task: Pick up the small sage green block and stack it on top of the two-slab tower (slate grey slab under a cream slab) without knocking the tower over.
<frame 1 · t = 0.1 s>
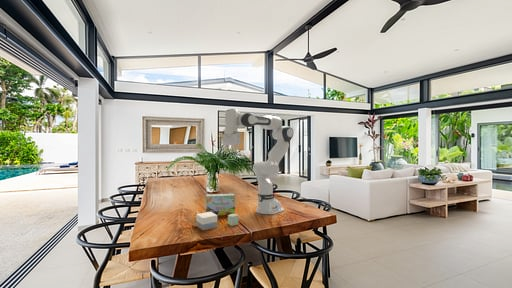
hand: (231, 151, 168), 48 cm above the table, tool pointing down, fingers open, 8 cm apart
snack box: (220, 214, 179), on the table
sage block: (233, 224, 158), on the table
cream slab: (206, 220, 153), point 4 cm above the table, touching grey slab
grey slab: (206, 227, 153), on the table, touching cream slab
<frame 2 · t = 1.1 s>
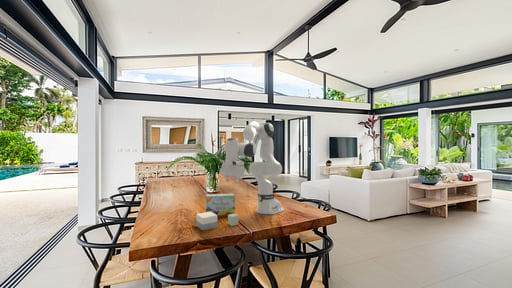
hand: (232, 182, 159), 27 cm above the table, tool pointing down, fingers open, 8 cm apart
nothing on the table moved.
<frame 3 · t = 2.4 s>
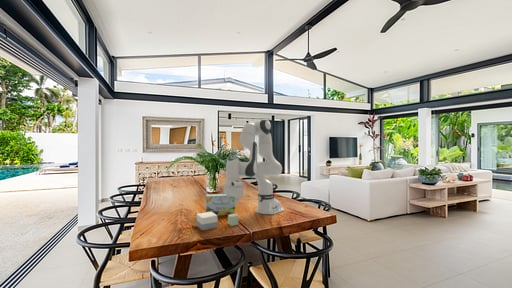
hand: (232, 202, 157), 14 cm above the table, tool pointing down, fingers open, 8 cm apart
cream slab: (207, 220, 153), point 4 cm above the table
grey slab: (206, 227, 153), on the table
everything else where it was.
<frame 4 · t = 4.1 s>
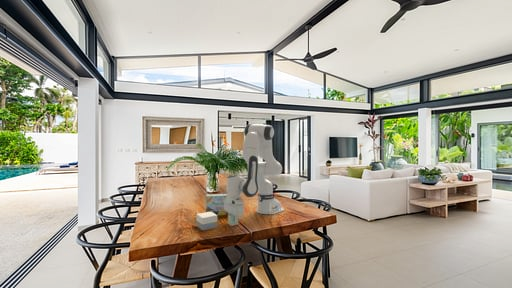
hand: (233, 220, 158), 3 cm above the table, tool pointing down, fingers closed on sage block, 5 cm apart
sage block: (233, 224, 158), on the table, touching gripper
cream slab: (206, 220, 153), point 4 cm above the table, touching grey slab
grey slab: (206, 227, 153), on the table, touching cream slab
everything else where it was.
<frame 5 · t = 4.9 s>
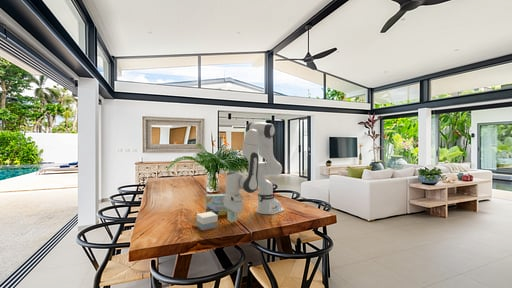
hand: (232, 216, 159), 5 cm above the table, tool pointing down, fingers closed on sage block, 5 cm apart
sage block: (232, 220, 159), point 2 cm above the table, touching gripper
cream slab: (207, 220, 153), point 4 cm above the table
grey slab: (206, 227, 153), on the table
everything else where it was.
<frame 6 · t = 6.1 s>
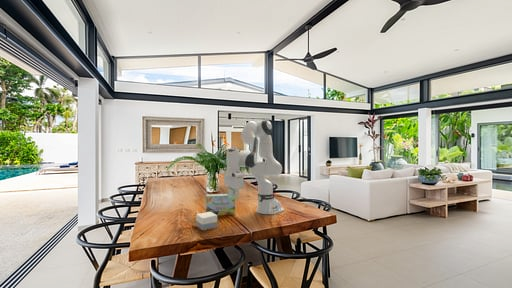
hand: (233, 193, 158), 20 cm above the table, tool pointing down, fingers closed on sage block, 5 cm apart
sage block: (233, 197, 158), point 17 cm above the table, touching gripper
everything else where it was.
when the fingers open (12 cm above the table, at t = 9.6 s): sage block drops 2 cm, resting on cream slab.
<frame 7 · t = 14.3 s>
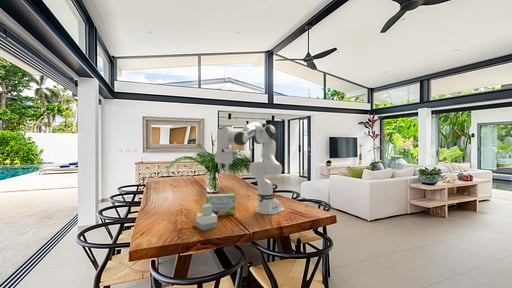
hand: (223, 169, 167), 35 cm above the table, tool pointing down, fingers open, 8 cm apart
sage block: (206, 214, 153), point 8 cm above the table, touching cream slab
cream slab: (206, 221, 153), point 4 cm above the table, touching grey slab, sage block
grey slab: (206, 227, 153), on the table, touching cream slab
everything else where it was.
at the end: sage block 0.2 cm off-centre on the cream slab, point 4.0 cm above the cream slab's base; sage block tilted 0°; cream slab 0.3 cm off-centre on the grey slab, point 4.0 cm above the grey slab's base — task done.
